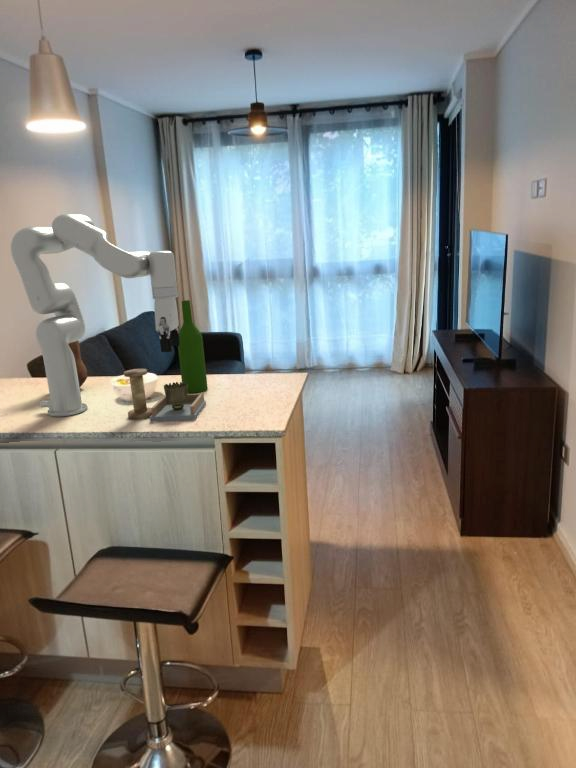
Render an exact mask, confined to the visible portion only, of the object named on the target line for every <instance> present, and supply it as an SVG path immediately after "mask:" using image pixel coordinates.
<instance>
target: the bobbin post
mask: <svg viewBox="0 0 576 768" xmlns="http://www.w3.org/2000/svg"><path fill="white" fill-rule="evenodd" d="M147 374H148V369H147V368H133V369H129V370H124V372H123V377H125V378H126V377H127V378H129V383H130V390H131V391H130V392H131V399H132V405H133V409H131V410H129V411H127V418H128V420H129V419H130V420H134V421H138V420H144V419H150V416H151V415H152V410H151V408H152V407H148V406H147V399H146V391H145V385H144V383H145V382H144V376H146V375H147Z"/></svg>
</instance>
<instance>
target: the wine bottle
mask: <svg viewBox="0 0 576 768" xmlns="http://www.w3.org/2000/svg"><path fill="white" fill-rule="evenodd" d="M191 306H192V305H191V300H189V299H188V300H182V301H181V310H182V325H181V327H180V329H179V339H180V345H179V346H177V350H178V359H179V368H180V377H181V383H183V382H185V383H187V384H188V394H195V393H197V394H201V392H202V393H204V392H207V390H208V378H207V370H206V369H207V368H206V360H205V351H204V348H205V347H204V340H203V335H202V332H201V330H200V329H199V328H198V327H197V325H196V324H195V323H194V321H193V317H192V316H193V314H192V309H191V308H192V307H191Z"/></svg>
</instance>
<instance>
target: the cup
mask: <svg viewBox="0 0 576 768" xmlns="http://www.w3.org/2000/svg"><path fill="white" fill-rule="evenodd" d="M163 390H164V395H166V398H167V401H168V403H169V404H171V405H172V408H173V409H174V410H180V409H183V407H184V405H183V404H184V403H185V402H186V400H187V394H188V384H187V383H185V382H183V383H182V381H180V382H178V381H176V382H172V383H171V382H169V383H165V384H163Z"/></svg>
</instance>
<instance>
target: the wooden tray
mask: <svg viewBox="0 0 576 768" xmlns="http://www.w3.org/2000/svg"><path fill="white" fill-rule="evenodd" d="M204 395H205V394H204V392H202V393H197V394H187V400H186V402H185V403H184V404H183V405H184V407H183V409H180V410H174V409H173V408H172V405H171V404H169V403H168V401H167V398H166V395H165V394H164V395H163V396H162V397H161V398H160V399H158V401H157V402H156V403H155V404H154V405H153V406H152V407H150V408H151V410H152V415H151V416H150V417H149V422H150V423H151V422H152V423H154V422H153V421H158V422H174V421H175V422H176V421H177V420H180V421H194V420H193V419H196V420H197V418H198V417H199V416H200V414H201V413H202V412H203V410H204V409H205V407H206V406H207V402H206V400H205V396H204ZM205 405H206V406H205ZM204 406H205V407H204ZM203 408H204V409H203ZM202 409H203V410H202ZM200 412H201V413H200ZM199 413H200V414H199ZM198 415H199V416H198ZM197 416H198V417H197ZM177 422H178V421H177Z"/></svg>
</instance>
